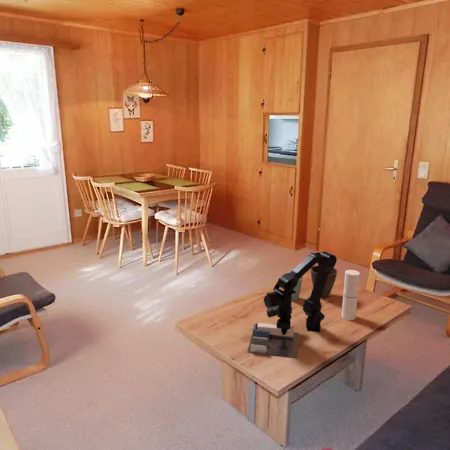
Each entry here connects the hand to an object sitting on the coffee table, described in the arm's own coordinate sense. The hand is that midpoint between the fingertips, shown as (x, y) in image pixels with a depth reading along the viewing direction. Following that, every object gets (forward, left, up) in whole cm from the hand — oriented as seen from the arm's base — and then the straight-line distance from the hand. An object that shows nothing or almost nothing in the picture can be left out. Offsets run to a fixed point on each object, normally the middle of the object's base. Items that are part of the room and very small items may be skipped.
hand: (283, 332), depth 196 cm
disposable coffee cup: (-2, -43, -3) cm, 44 cm away
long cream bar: (+4, 0, -1) cm, 4 cm away
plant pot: (-19, -51, -3) cm, 55 cm away
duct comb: (+4, +7, -2) cm, 8 cm away
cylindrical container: (-32, -27, -3) cm, 42 cm away
